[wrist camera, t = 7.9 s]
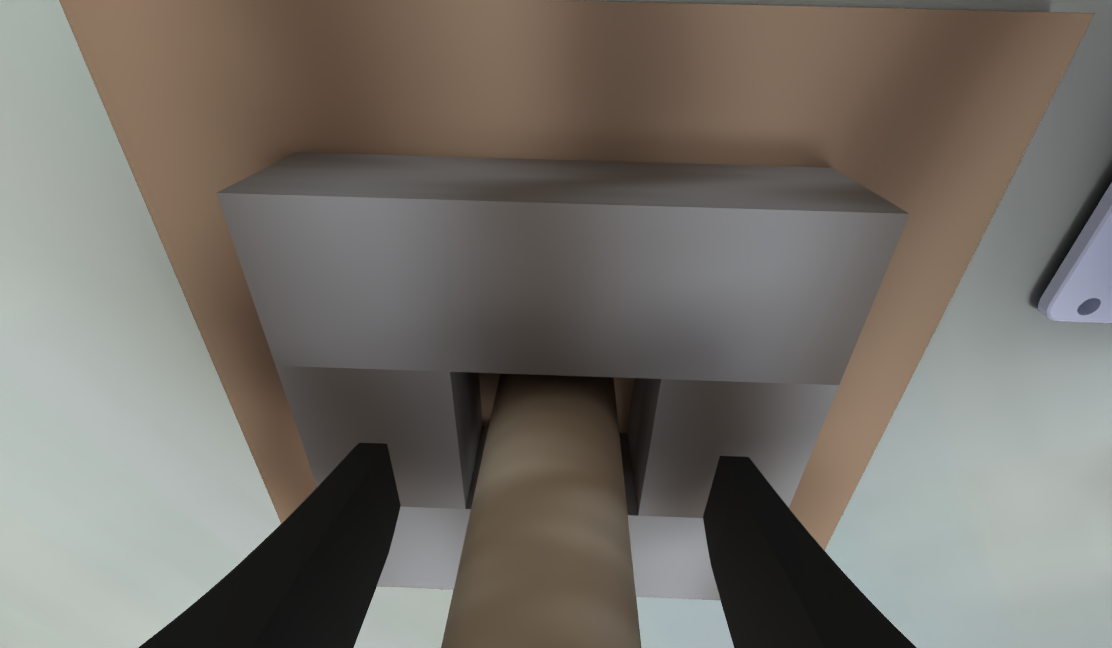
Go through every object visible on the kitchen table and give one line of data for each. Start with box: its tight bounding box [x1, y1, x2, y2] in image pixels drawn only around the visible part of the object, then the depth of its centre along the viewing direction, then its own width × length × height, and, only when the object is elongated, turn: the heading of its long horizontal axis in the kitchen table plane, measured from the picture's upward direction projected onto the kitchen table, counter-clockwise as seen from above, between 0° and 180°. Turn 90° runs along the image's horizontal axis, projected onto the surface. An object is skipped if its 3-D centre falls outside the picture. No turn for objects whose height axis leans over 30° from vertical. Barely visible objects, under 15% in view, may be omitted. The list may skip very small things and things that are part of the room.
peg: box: [441, 373, 641, 648], centre depth 10 cm, size 3×3×10 cm
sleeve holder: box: [59, 0, 1095, 600], centre depth 14 cm, size 20×18×4 cm
